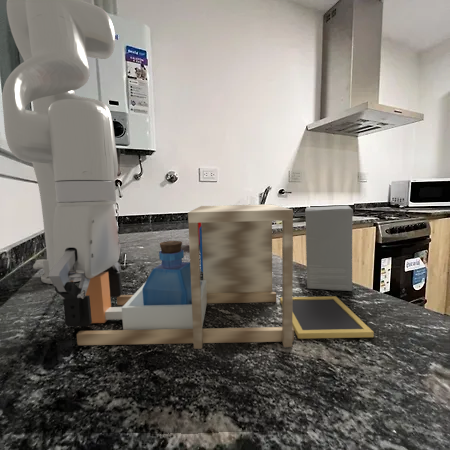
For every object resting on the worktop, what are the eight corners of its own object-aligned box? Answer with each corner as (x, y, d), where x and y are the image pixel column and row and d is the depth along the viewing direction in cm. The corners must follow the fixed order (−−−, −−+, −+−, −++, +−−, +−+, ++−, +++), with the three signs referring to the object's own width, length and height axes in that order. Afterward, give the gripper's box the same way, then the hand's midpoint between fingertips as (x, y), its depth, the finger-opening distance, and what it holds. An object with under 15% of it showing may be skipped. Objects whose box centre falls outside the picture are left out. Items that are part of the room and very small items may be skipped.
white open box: (68, 337, 34) (62, 286, 34) (104, 305, 45) (101, 265, 44) (200, 335, 34) (198, 283, 33) (207, 302, 44) (205, 262, 43)
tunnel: (193, 348, 32) (187, 212, 30) (204, 298, 47) (201, 206, 45) (292, 346, 32) (293, 209, 30) (271, 297, 47) (270, 204, 45)
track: (77, 345, 33) (76, 334, 33) (119, 303, 46) (118, 295, 46) (293, 341, 33) (294, 330, 33) (275, 300, 46) (275, 291, 45)
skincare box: (348, 281, 54) (350, 205, 52) (352, 294, 47) (355, 207, 45) (305, 278, 57) (306, 205, 55) (304, 289, 50) (305, 207, 48)
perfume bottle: (187, 335, 35) (183, 247, 33) (145, 331, 36) (139, 246, 35) (201, 314, 41) (198, 239, 39) (165, 311, 42) (160, 238, 41)
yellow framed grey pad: (298, 338, 33) (298, 333, 33) (280, 301, 45) (280, 297, 45) (373, 337, 33) (373, 332, 33) (335, 300, 45) (336, 296, 45)
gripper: (92, 195, 46) (100, 288, 48) (11, 196, 29) (29, 342, 31) (134, 194, 46) (141, 288, 48) (79, 194, 29) (92, 340, 31)
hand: (97, 309), depth 39 cm, fingers open, 9 cm apart
